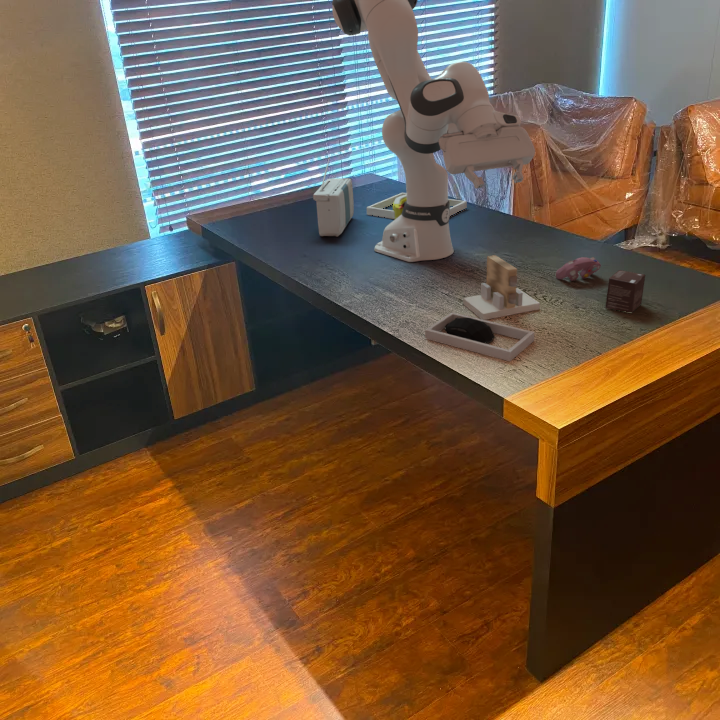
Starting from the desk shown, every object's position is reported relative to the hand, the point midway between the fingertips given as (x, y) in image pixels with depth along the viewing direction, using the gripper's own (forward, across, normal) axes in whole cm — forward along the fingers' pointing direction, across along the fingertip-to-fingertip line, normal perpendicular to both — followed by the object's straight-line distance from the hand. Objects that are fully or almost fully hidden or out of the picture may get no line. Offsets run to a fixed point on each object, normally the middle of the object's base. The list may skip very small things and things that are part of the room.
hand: (499, 183), depth 151 cm
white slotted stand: (+21, 0, +17) cm, 27 cm away
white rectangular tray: (-36, +13, +74) cm, 83 cm away
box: (+30, +24, +9) cm, 39 cm away
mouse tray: (+31, -12, +8) cm, 34 cm away
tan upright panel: (+20, 0, +16) cm, 26 cm away
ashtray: (-34, +12, +74) cm, 82 cm away
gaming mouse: (+28, -14, +12) cm, 33 cm away
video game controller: (+16, +25, +22) cm, 37 cm away
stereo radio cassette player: (-33, -16, +72) cm, 81 cm away
